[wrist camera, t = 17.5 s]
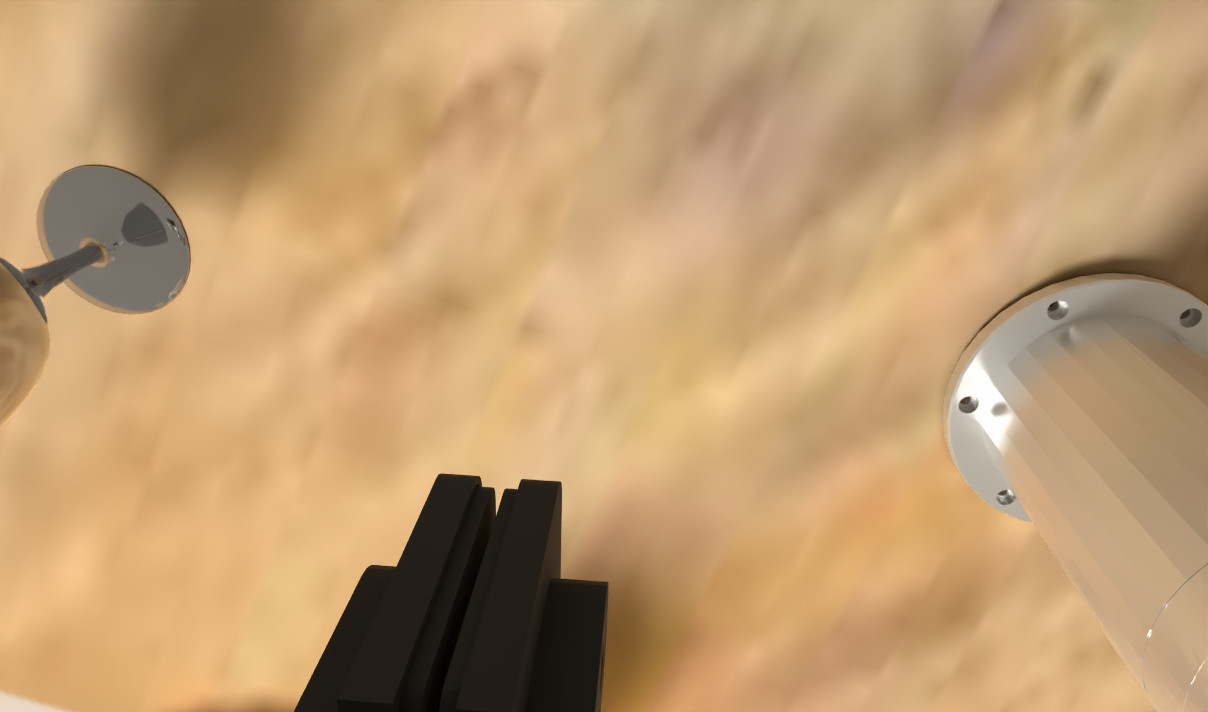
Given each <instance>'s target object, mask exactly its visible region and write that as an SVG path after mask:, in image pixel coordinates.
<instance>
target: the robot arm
mask: <svg viewBox="0 0 1208 712" xmlns="http://www.w3.org/2000/svg"><path fill="white" fill-rule="evenodd" d="M1054 302H1055V303H1054ZM1052 303H1054V305H1053V306H1052V307H1049V306H1050V305H1051V304H1052ZM965 397H967V398H965ZM963 398H965V399H964V400H962V399H963ZM942 424H943V430H944V436H945V442H946V446H947V448H948V451H949V453H950V455H951V458H952V460H953V462H954V464H955V466H956V468H957V469H958V471H959V472H960V474H961V476H962V477H963V479H964V481H965V482H966V483H967V484H968V485H969V487H970V488H971V489H972V490H973V491H974V492H975V493H976V494H977V495H978V496H979V497H980V498H981V499H982V500H984V501H985V502H986V503H988V504H989V505H990V506H992V507H993V508H995V509H997V510H998V511H1000V512H1003V513H1005V514H1007V515H1010V516H1012V517H1014V518H1017V519H1019V520H1022V521H1026V522H1031V523H1033V524H1034V526H1035V527H1036V529H1037V530H1038V532H1039V533H1040V535H1041V536H1042V538H1043V540H1044V541H1045V543H1046V544H1047V546H1048V547H1049V549H1050V550H1051V552H1052V553H1053V555H1054V557H1055V558H1056V560H1057V561H1058V563H1059V564H1060V566H1061V567H1062V569H1063V570H1064V572H1065V573H1066V575H1067V577H1068V578H1069V580H1070V581H1071V583H1072V584H1073V586H1074V587H1075V589H1076V590H1077V592H1078V593H1079V595H1080V597H1081V598H1082V600H1083V601H1084V603H1085V604H1086V606H1087V607H1088V609H1089V610H1090V612H1091V613H1092V615H1093V617H1094V618H1095V620H1096V621H1097V623H1098V624H1099V626H1100V627H1101V629H1102V630H1103V632H1104V633H1105V635H1106V637H1107V638H1108V640H1109V641H1110V643H1111V644H1112V646H1113V647H1114V649H1115V650H1116V652H1117V653H1118V655H1119V657H1120V658H1121V660H1122V661H1123V663H1124V664H1125V666H1126V667H1127V669H1128V670H1129V672H1130V673H1131V675H1132V677H1133V678H1134V680H1135V681H1136V683H1137V684H1138V686H1139V687H1140V689H1141V690H1142V692H1143V693H1144V695H1145V697H1146V698H1147V700H1148V701H1149V703H1150V704H1151V706H1152V707H1153V709H1154V710H1155V711H1156V712H1208V305H1207V304H1205V303H1204V302H1202V301H1201V300H1199V299H1198V298H1196V297H1195V296H1193V295H1192V294H1190V293H1189V292H1187V291H1185V290H1183V289H1181V288H1179V287H1176V286H1174V285H1172V284H1170V283H1168V282H1166V281H1163V280H1159V279H1155V278H1151V277H1147V276H1143V275H1139V274H1121V273H1105V274H1096V275H1088V276H1080V277H1076V278H1073V279H1069V280H1066V281H1062V282H1059V283H1055V284H1052V285H1049V286H1047V287H1045V288H1043V289H1041V290H1039V291H1036V292H1034V293H1032V294H1030V295H1028V296H1026V297H1024V298H1022V299H1021V300H1019V301H1018V302H1016V303H1015V304H1013V305H1012V306H1010V307H1009V308H1007V309H1006V310H1004V311H1003V312H1001V313H1000V314H998V315H997V316H996V317H995V318H994V319H993V320H992V321H991V322H990V323H989V324H988V325H987V326H985V327H984V328H983V329H982V330H981V331H980V332H979V333H978V334H977V336H976V337H975V338H974V339H973V341H972V342H971V343H970V345H969V346H968V347H967V349H966V350H965V351H964V352H963V354H962V355H961V357H960V359H959V361H958V363H957V365H956V367H955V369H954V371H953V373H952V375H951V377H950V380H949V383H948V387H947V391H946V394H945V398H944V404H943V420H942ZM561 515H562V484H561V482H558V481H543V480H528V479H522V480H521V481H520V484H519V487H518V489H505V490H504V493H503V496H502V499H501V502H500V505H499V509H498V512H497V515H496V500H495V490H494V488H491V487H482V482H481V478H480V477H479V476H470V475H455V474H439V475H438V476H437V478H436V480H435V482H434V485H433V487H432V489H431V491H430V494H429V496H428V498H427V500H426V502H425V505H424V507H423V509H422V511H421V514H420V516H419V518H418V520H417V522H416V525H415V527H414V529H413V531H412V534H411V536H410V538H409V540H408V542H407V545H406V547H405V549H404V551H403V554H402V556H401V558H400V560H399V562H398V565H397V567H393V566H380V565H371V566H369V567H368V568H367V569H366V570H365V572H364V573H363V575H362V576H361V578H360V580H359V582H358V584H357V586H356V588H355V590H354V592H353V594H352V596H351V598H350V600H349V602H348V604H347V606H346V608H345V610H344V612H343V614H342V616H341V618H340V620H339V622H338V624H337V626H336V628H335V630H334V632H333V634H332V636H331V638H330V640H329V642H328V644H327V646H326V648H325V650H324V652H323V654H322V656H321V658H320V660H319V662H318V664H317V666H316V668H315V670H314V672H313V674H312V676H311V678H310V680H309V682H308V684H307V686H306V688H305V690H304V692H303V694H302V696H301V698H300V700H299V702H298V704H297V706H296V708H295V710H294V712H600V709H601V698H602V687H603V674H604V661H605V646H606V628H607V608H608V582H597V581H584V580H570V579H560V571H561Z"/></svg>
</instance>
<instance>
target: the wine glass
mask: <svg viewBox="0 0 1208 712" xmlns="http://www.w3.org/2000/svg"><path fill="white" fill-rule="evenodd" d="M37 229H38V236H39V240H40V243H41V246H42V249H43V252H44V254H45V256H46V258H47V260H48V262H46V263H43V264H39V265H35V266H31V267H16V266H14V265H13V264H11V263H10V262H8V261H7V260H6V259H4V258H2V257H1V256H0V428H1V427H2V426H3V425H4V424H5V423H6V422H7V421H8V420H9V419H10V417H11V416H12V415H13V414H14V413H15V412H16V411H17V410H18V409H19V408H20V407H21V405H22V404H23V403H24V401H25V400H26V399H27V398H28V396H29V395H30V394H31V392H32V391H33V390H34V388H35V387H36V385H37V383H38V381H39V379H40V377H41V375H42V373H43V371H44V369H45V368H46V365H47V361H48V358H49V353H50V327H49V320H48V317H47V313H46V310H45V307H44V301H45V298H46V297H47V295H48V294H49V293H50V292H51V291H53V290H54V289H55V288H56V287H57V286H58V285H60V284H61V283H62V282H64V283H65V284H66V285H67V286H68V287H69V288H70V289H72V290H73V291H74V292H75V293H76V294H77V295H79V296H80V297H82V298H84V299H85V300H87V301H88V302H90V303H92V304H94V305H96V306H98V307H100V308H103V309H106V310H109V311H113V312H117V313H124V314H143V313H148V312H153V311H155V310H158V309H160V308H163V307H164V306H166V305H167V304H169V303H170V302H172V301H173V300H174V298H175V297H176V296H177V295H178V294H179V293H180V291H181V290H182V288H183V286H184V285H185V283H186V280H187V277H188V273H189V267H190V251H189V245H188V241H187V237H186V233H185V231H184V229H183V226H182V224H181V222H180V220H179V218H178V217H177V215H176V214H175V212H174V210H173V209H172V208H171V206H170V205H169V204H168V203H167V202H166V200H165V199H164V198H163V197H162V196H161V195H160V194H159V193H158V192H157V191H156V190H154V189H153V188H152V187H151V186H149V185H148V184H147V183H145V182H144V181H142V180H141V179H139V178H137V177H135V176H133V175H131V174H129V173H127V172H125V171H122V170H118V169H115V168H112V167H106V166H99V165H97V166H82V167H78V168H73V169H71V170H69V171H67V172H64V173H62V174H61V175H60V176H58V177H57V178H56V179H54V180H53V181H52V182H51V184H50V185H49V186H48V187H47V189H46V190H45V192H44V194H43V196H42V198H41V200H40V203H39V208H38V212H37Z"/></svg>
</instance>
